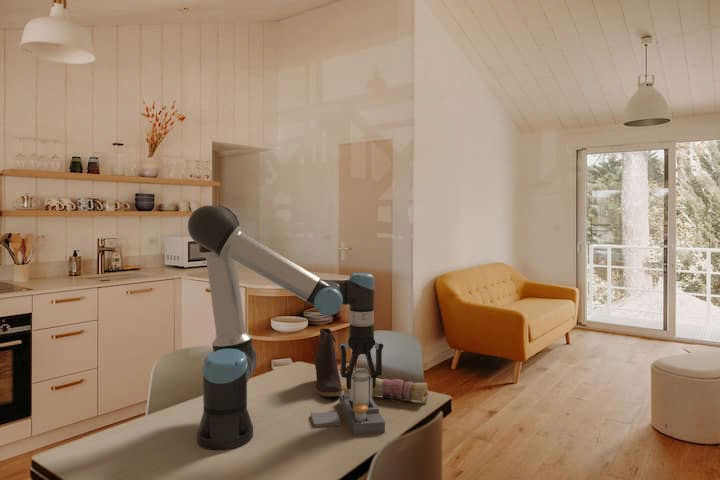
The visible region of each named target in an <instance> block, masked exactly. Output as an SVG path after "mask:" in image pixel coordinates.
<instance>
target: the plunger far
mask: <svg viewBox="0 0 720 480" xmlns="http://www.w3.org/2000/svg"><path fill="white" fill-rule="evenodd" d="M342 389H343V394H344V399H350V398H349V391H350V389H347V387H346V384H345V385H343V386H342Z"/></svg>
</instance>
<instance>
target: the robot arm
mask: <svg viewBox="0 0 720 480" xmlns="http://www.w3.org/2000/svg"><path fill="white" fill-rule="evenodd" d="M187 231H188V233H189V236H190V237H191V239H192V240H193V242H195V243H196V244H198V248H199V254H200V255H201V256H203V258H205V260H206V261H205V262H206V269H207V276H208V282H209V290H210V298H211V306H212V313H213V319H214V321H213V322H214V326H215V327H214V329H215V335H216V337H215V338H214V340H212V341H213V342H212V343H211V344H212V352H210V353H209V354H207V355H206V356H205V358H204V360H203V364H202V365H203V366H202V376H203V377H202V383H203V384H202V387H203V389H202V390H203V391H202V392H203V395H202V397H203V403H202V404H203V405H202V406H203V413H202V415H201V418H200V422H199V425H198V428H197V432H196V443H197V444H198V445H199V446H200V447H202V448H204V449H208V450H215V451H217V450H220V451H222V450H230V449H235V448H238V447H241V446H243V445H246V444H247V443H249V442H250V441H251V440H252V439H253V437H254V424H253V422H252V420H251V416H250V414H249V410H248V404H247V403H248V382H249V380H250V379H251V377H252V375H253V374H254V372H255V371H256V368H257V363H258V356H257V352H256V349H255V348H254V346H253V339H252V336H251V334H250V333H248V332H246V326H245V325H246V324H245V318H244V311H243V310H244V309H243V303H242V296H241V295H242V294H241V287H240V279H239V271H238V263H239V264H241V265H242V266H244V267H246V268H247V269H250V270H251V271H253V272H255V273H256V274H258V275H260V276H261V277H263V278H265V279H267V280H269V281H270V282H271V283H273V284H275V285H277V286H279V287H280V288H282V289H284V290H285V291H287V292H289V293H291V294H293V295H294V296H296V297H297V298H299V299H301V300H303V301H304V302H306V303H307V304H309V305H311V306H312V307H314V308H315V309H316V311H318V312H319V313H320V314H321V315H323V316H327V317H329V316H333V315H335V314H337V313H338V312H339V311H340V310H341V308H342V306H343V305H345V306H346V305H349V320H348V321H349V323H350V324H349V329H348V330H349V332H348V333H349V335H348V336H349V337H348V340H347V342H345V343H339V349H340V373H339V375H341V376H340V377H341V378H343V379H344V378H345V380H346V381H345V382H346V384H345V385H346V387H347V389H350V391H349V398H350V400H351V401H354V379H353V371H355V367H356V366H355V365H356V362H357V359H358V356H360V355H365V358H366V361H367V365H368V369H369V370H368V371H369V375H370V379H369V399H373V396H372V388H375V386H376V378H377V377H379V376H382V374H383V370H382V367H383V365H382V364H383V363H382V360H383V357H382V351H383V348H384V344H383V343H382V342H381V341H376V340H375V325H374V322H375V290H376V289H375V277H374V275H373V274H372V273H368V272H354V273H351V274H350V275H349V278H348V279H344V280H343V279H323V278H322V279H321V278H320V277H318V276H316V275H315V274H314V273H311V272H309V271H308V270H306V269H305V268H303V267H301V266H300V265H298V264H296V263H295V262H293V261H291V260H289V259H288V258H286V257H285V256H283V255H281V254H280V253H278V252H276V251H274V250H273V249H271V248H269V247H267V246H266V245H264V244H262V243H261V242H259V241H258V240H256V239H254V238H252V237H251V236H249V235H248V234H246V233H244V232H242V228H241V225H240V220H239V218H238V216H237V215H236V213H235V212H234V211H233V210H231V209H230V208H228V207H226V206H224V205H203V206H200V207H198V208H197V209H195V210H194V211H193V212H192V213H191V215H190V216H189V218H188V222H187ZM348 348H350V350H351V353H350V355H351V356H350V360H349V364H348V366H347V351H348V350H349V349H348ZM373 348H375V364H376V365H374V363H373V358H372V353H371V351H372V349H373Z"/></svg>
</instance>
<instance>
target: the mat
mask: <svg viewBox="0 0 720 480" xmlns="http://www.w3.org/2000/svg"><path fill="white" fill-rule="evenodd" d="M310 418H311V421H312V424H313V427H314V428H323V427H334V426H335V427H336V426H337V427H338V426H342V421H341V418H340V416H339V414H338V411H323V412H311V413H310Z"/></svg>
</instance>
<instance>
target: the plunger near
mask: <svg viewBox="0 0 720 480" xmlns="http://www.w3.org/2000/svg"><path fill="white" fill-rule="evenodd" d="M367 410H368V407H367V406H366V405H363V404H357V405H354V406H353V411H355V422H363V421H366V411H367Z"/></svg>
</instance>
